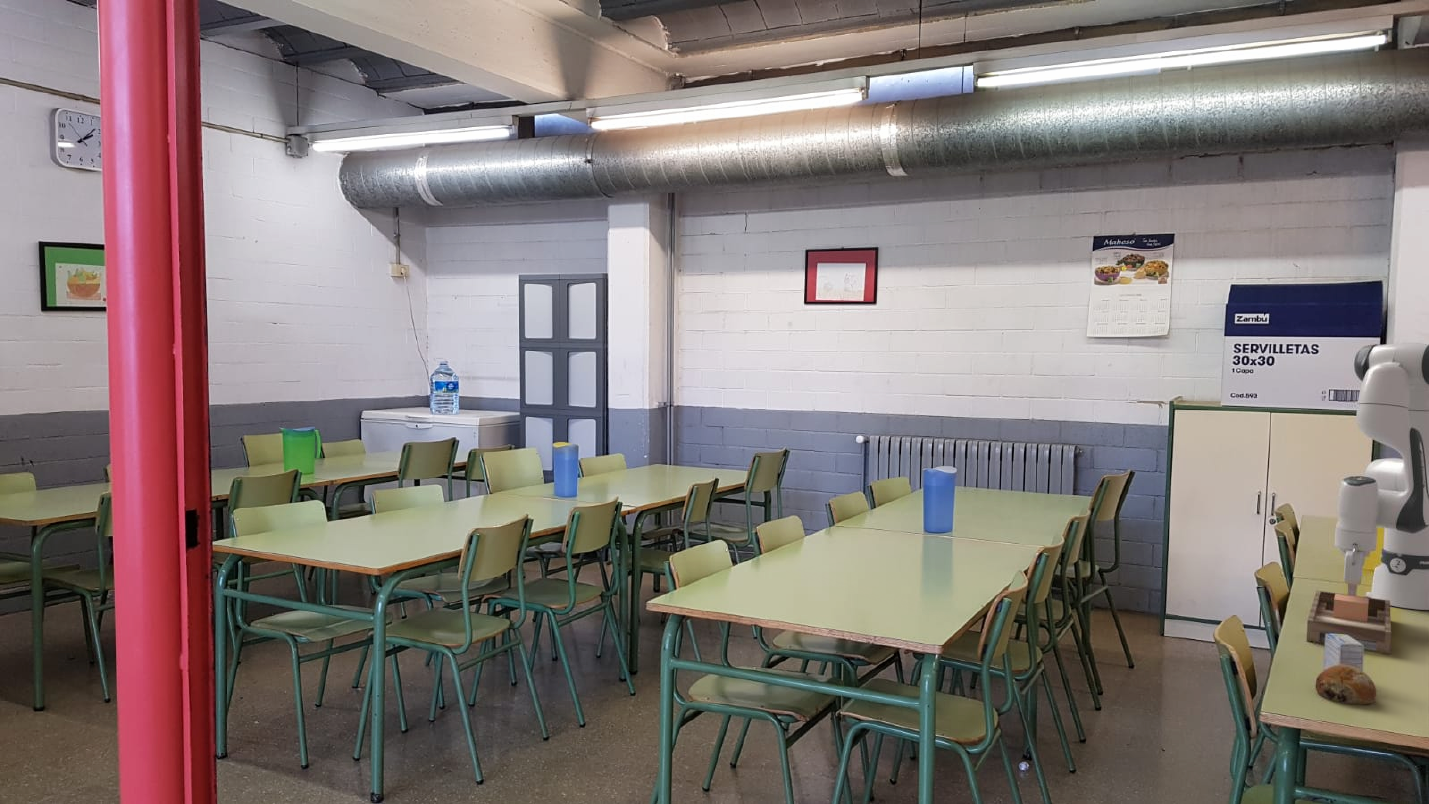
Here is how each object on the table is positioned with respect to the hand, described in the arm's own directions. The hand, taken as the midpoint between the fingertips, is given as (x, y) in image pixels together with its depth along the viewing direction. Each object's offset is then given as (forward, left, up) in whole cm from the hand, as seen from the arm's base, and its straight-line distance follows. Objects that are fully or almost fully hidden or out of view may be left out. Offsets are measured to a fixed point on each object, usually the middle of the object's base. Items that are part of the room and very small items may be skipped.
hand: (1351, 595), depth 251 cm
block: (+8, +3, -4) cm, 9 cm away
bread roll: (+64, +27, -7) cm, 70 cm away
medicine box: (+54, +22, -6) cm, 58 cm away
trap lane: (+11, +5, -6) cm, 13 cm away
